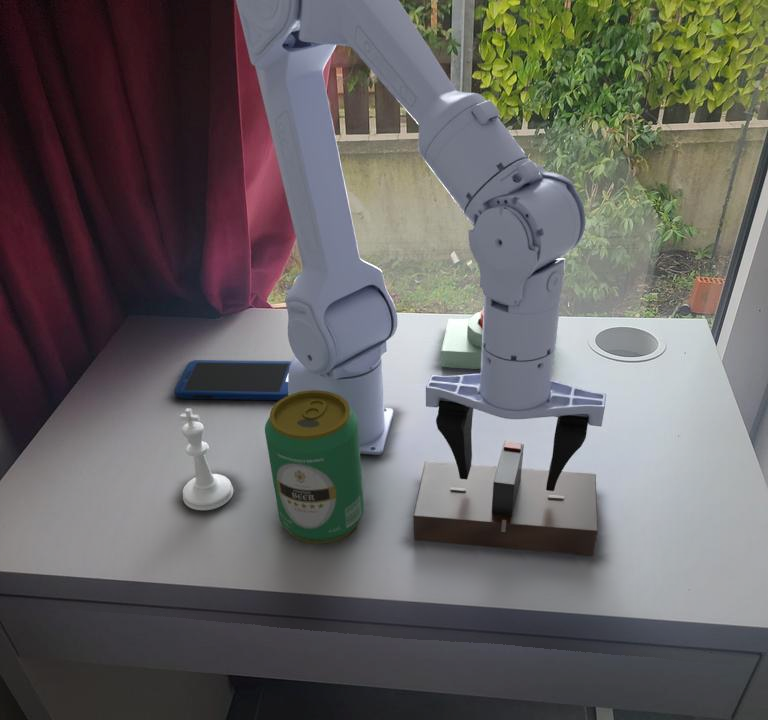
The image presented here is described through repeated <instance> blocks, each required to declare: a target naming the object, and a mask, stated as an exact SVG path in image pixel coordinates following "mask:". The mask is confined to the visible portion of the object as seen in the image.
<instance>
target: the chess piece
mask: <svg viewBox="0 0 768 720" xmlns="http://www.w3.org/2000/svg"><path fill="white" fill-rule="evenodd" d="M179 418H180V421H185V422H187V423H185V424H184V425H183V426H182V427H181V433H182V435H183V437H185V438H186V441H187V442H188V444H187V446H186V449H185V453H186V454H187V455H188V456H190V457H193V461H194V470H195V477H194V478H192V479H190V480H189V481H188V482H187V483H186V484H185V485H184V487H183V489H182V500H183V503H184V505H186V507H188V508H189V509H192V510H195V511H211V510H215V509H218V508H220V507H222V506H224V505H226V504H227V503H228V502H229V501H230V500H231V499H232V497H233V495H234V487H233V485H232V483H231V480H230V479H229V478H227V476H225V475H223V474H219V473H212V470H211V468H210V465H209V463H208V460H207V458H206V454H207V453H208V452H209V450H210V446H209V444H208V443H207V442H206V441H203V437H204V431H205V427H204V424H203V423H201V422H200V421H201V417H200V414H193V410H192V408H188V407H186V409H185V410H184V413H181V414H180V416H179Z"/></svg>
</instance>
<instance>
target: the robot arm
mask: <svg viewBox="0 0 768 720" xmlns="http://www.w3.org/2000/svg"><path fill="white" fill-rule="evenodd" d="M235 3H236V8H237V11H238V15H239V19H240V23H241V27H242V32H243V36H244V40H245V44H246V48H247V52H248V58H249V61H250V63H251V65H252V66H254V68H255V72H256V75H257V80H258V84H259V88H260V93H261V97H262V101H263V105H264V109H265V115H266V118H267V122H268V126H269V130H270V134H271V135H270V136H271V139H272V144H273V147H274V151H275V156H276V159H277V160H276V161H277V164H278V168H279V173H280V176H281V181H282V185H283V189H284V193H285V198H286V201H287V206H288V211H289V214H290V218H291V223H292V227H293V232H294V236H295V240H296V243H297V247H298V252H299V257H300V259H301V264H302V269H301V271H300V273H299V274H298V276H297V278H296V279H295V281H294V282H293V284H292V285H291V287H290V289H289V290H288V293H286V296H285V298H284V302H285V306H286V311H287V316H288V320H287V321H288V322H287V339H288V343H289V346H290V348H291V351H292V353H293V357H292V359H291V360H290V361H291V364H290V369H289V376H288V395H291V394H294V393H297V392H302V391H309V390H319V391H327V392H331V393H334V394H337V395H339V396H341V397H342V398H343V399H345V400H346V402H347V403H348V405H349V408H350V409H351V410H352V411H353V412H354V413H355V415H356V417H357V420H358V432H359V445H360V455H377V456H378V455H382V454H383V452H384V449H385V445H386V441H387V438H388V436H389V435H388V434H389V431H390V427H391V423H392V420H393V417H394V409H393V408H390V407H385V400H384V397H385V396H384V380H383V379H384V376H383V355H384V354H385V353H386V352H387V341H389V340H390V339H391V338H393V337H394V335H395V334H396V331H397V328H398V314H397V308H396V305H395V303H394V300H393V298H392V297H391V296H390V294H389V292H388V289H387V287H386V283H385V278H384V274H383V273H384V272H383V271H382V270H381V269H380V268H379V267H377V266H375V265H373V264H371V263H369V262H367V261H366V260H363V259H362V258H361V257H360V253H359V247H358V242H357V238H356V233H355V227H354V223H353V217H352V212H351V207H350V202H349V198H348V192H347V187H346V182H345V176H344V173H343V168H342V162H341V158H340V151H339V147H338V142H337V137H336V133H335V126H334V122H333V118H332V113H331V112H332V111H331V107H330V101H329V98H328V93H327V87H326V81H325V77H324V70H325V67H326V65H327V63H328V61H329V60H330V58H331V56H332V54H333V53H334V51H335V49H336V47H337V46H344V47H349V48H351V49H352V50H353V51H354V53H356V55H357V56H358V57H359V58H360V59H361V60H362V62H364V64H365V65H366V67H368V68H369V69H370V71H371V72H372V73H373V74H374V75H375V76H376V78H377V79H378V80H379V81H380V82H381V83H382V84H383V85H384V87H385V88H386V89H387V91H389V93H390V94H391V95H392V96H393V98H395V100H396V101H397V103H399V104H400V105H401V106H402V107H403V109H404V110H405V111H406V112H407V113H408V114H409V116H410V117H411V118H412V120H414V121H415V123H416V124H417V125H418V137H417V138H418V139H417V150H418V154H419V155H420V157H421V158H422V159H423V161H424V162H425V163H426V165H427V166H428V168H429V169H430V170H431V171H432V172H433V174H434V175H435V176H436V178H437V179H438V181H439V182H440V183H441V185H442V186H443V188H445V190H446V192H447V193H448V194H449V196H451V198H452V200H453V201H454V202H455V204H456V205H457V206H458V208H459V209H460V210H461V212H462V213H463V214H464V215H465V217H466V219H467V220H468V221H469V222H470V224H471V225H472V229H468V243H469V247H470V251H471V254H472V256H473V258H474V260H475V262H476V263H477V264H476V265H477V266H478V270H479V275H480V277H479V278H480V279H479V288H481V289H482V294H483V308H484V310H483V332H482V352H481V369H480V373H470V374H458V375H433V374H432V375H431V374H430V377H429V379H428V381H427V384H426V386H425V407H427V408H438V412H437V415H436V419H435V423H436V427H437V430H438V431H439V432H440V434H441V435H442V436H443V437H444V439H445V441H446V443H447V444H448V447H449V448H450V450H451V453H452V455H453V457H454V460H455V464H457V467H458V471H459V477H460V479H466V480H467V478H468V475H469V471H470V468H471V465H472V461H473V460H472V459H473V445H472V444H473V443H472V441H473V440H472V431H473V430H472V429H473V417H474V410H477V411H480V412H483V413H487V414H489V415H491V416H495V417H497V418H502V419H507V420H527V419H539V418H552V417H554V418H557V420H556V424H555V425H556V426H555V430H554V431H555V432H554V436H553V446H552V454H551V461H550V465H549V469H548V470H549V475H548V480H547V487H546V490H548V491H554V490H555V486H556V483H557V480H558V478H559V476H560V474H561V472H562V471H563V470H564V468H565V467H566V465H567V463H568V462H569V461H570V459H571V458H572V457H573V456H574V455H575V453H576V452H577V451H578V450H580V448H581V447H582V446H583V444H584V442H585V441H586V438H587V433H588V425H589V426H593V427H602V426H603V420H604V415H605V409H606V401H607V394H606V393H602V392H595V391H590V390H587V389H583V388H580V387H577V386H573V385H569V384H566V383H563V382H561V381H556V380H554V379H553V372H554V364H555V363H554V362H555V354H556V346H557V345H556V344H557V336H558V328H559V319H560V309H561V300H562V292H563V284H564V276H565V275H564V274H565V266H566V257H565V258H564V256H566V255H567V254H568V253H569V252H570V251H572V250H574V249H575V248H576V246H578V244H579V243H580V242H581V240H582V238H583V236H584V233H585V228H586V211H585V207H584V203H583V200H582V199H581V196H580V195H579V193H578V192H577V189H576V186H575V185H574V183H573V181H571V180H570V179H569V178H568V177H566V176H564V175H562V174H560V173H556V172H550V171H547V170H545V169H544V167H543V166H542V165H541V164H537V163H535V162H534V161H533V160H531V159H530V158H529V156H528V154H526V153H525V151H524V150H523V148H522V147H521V146H520V144H519V143H518V142H517V140H516V139H515V138H514V136H513V135H512V133H511V132H510V131H509V130H508V129H507V127H506V126H505V124H504V123H503V122H502V121H501V119H500V118H499V117H500V115H501V112H500V110H499V109H498V107H497V106H496V105H495V104H494V102H493V101H492V100H491V99H488V100H486V99H485V98H484V96H483V95H482V94H480V93H478V92H465V91H458V90H457V89H456V88H455V86H454V85H453V83H452V81H451V80H450V78H449V76H448V75H447V73H446V72H445V70H444V69H443V67H442V65H441V64H440V62H439V61H438V59H437V57H436V56H435V55H434V53H433V51H432V50H431V48H430V47H429V45H428V43H427V42H426V40H425V39H424V37H423V36H422V34H421V33H420V31H419V29H418V28H417V26H416V25H415V23H414V22H413V20H412V19H411V17H410V15H409V13H408V12H407V11H406V9H405V7H404V5H402V3H401V1H400V0H235Z"/></svg>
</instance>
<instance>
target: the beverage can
mask: <svg viewBox="0 0 768 720" xmlns="http://www.w3.org/2000/svg"><path fill="white" fill-rule="evenodd" d="M264 434H265V441H266V446H267V453H268V458H269V464H270V470H271V477H272V482H273V489H274V495H275V500H276V507H277V513H278V518H279V521H280V523H281V525H282V526H283V527H284V528H285V529H286V531H288V533H289V534H290V535H291V536H293V537H294V538H295V539H297V540H299V541H302V542H305V543H310V544H317V545H318V544H328V543H333V542H337V541H339V540H342V539H344V538H345V537H347V536H348V535H350V534H351V533H352V532H353V531H354V530H355V529H356V528H357V527H358V525H359V522H360V521H361V519H362V517H363V516H364V515H363V514H364V510H365V503H364V502H365V501H364V490H363V489H364V488H363V476H362V475H363V473H362V460H361V454H360V445H359V432H358V420H357V417H356V415H355V413H354V412H353V411H352V410H351V409H350V408H349V405H348V403H347V402H346V400H345V399H343V398H342V397H341V396H339V395H337V394H334V393H331V392H327V391H319V390H309V391H302V392H297V393H294V394H291V395H288V396H286V397H284V398H282V399H281V400H277V402H276V403H275V404H274V405H273V406H272V407H271V409H270V412H269V417H268V418H267V421H266V422H265V425H264Z"/></svg>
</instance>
